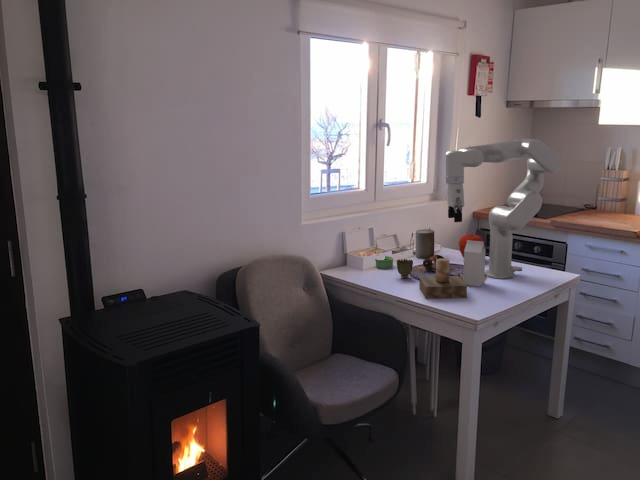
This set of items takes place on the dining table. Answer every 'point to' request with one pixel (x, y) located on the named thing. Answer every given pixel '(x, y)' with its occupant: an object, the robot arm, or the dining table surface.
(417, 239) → the pillar candle
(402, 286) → the dining table surface
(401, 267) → the dark rounded textured piece
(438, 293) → the walnut block
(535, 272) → the dining table surface
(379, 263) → the ramekin
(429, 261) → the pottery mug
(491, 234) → the robot arm
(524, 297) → the dining table surface
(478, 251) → the milk carton
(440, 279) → the oak peg
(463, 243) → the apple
